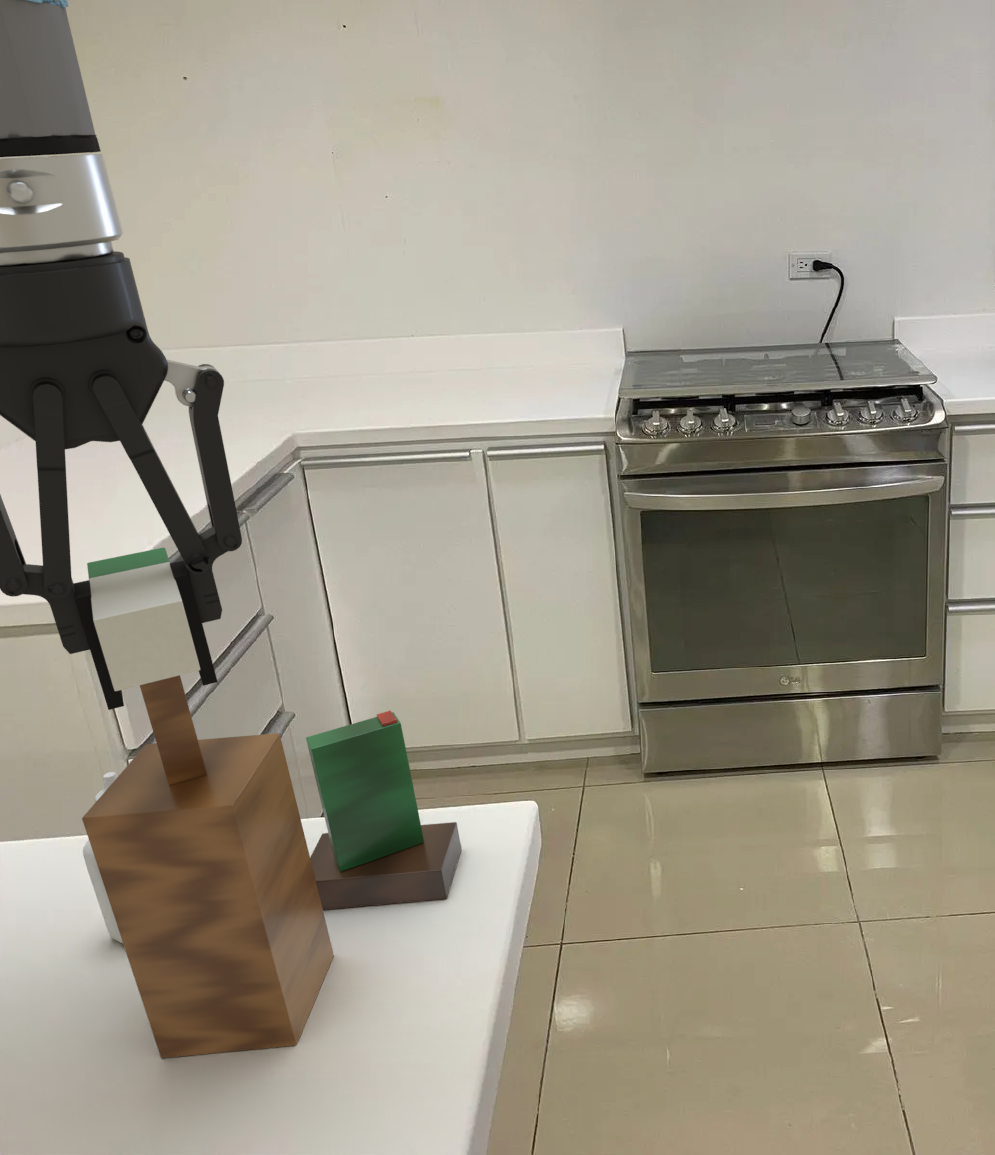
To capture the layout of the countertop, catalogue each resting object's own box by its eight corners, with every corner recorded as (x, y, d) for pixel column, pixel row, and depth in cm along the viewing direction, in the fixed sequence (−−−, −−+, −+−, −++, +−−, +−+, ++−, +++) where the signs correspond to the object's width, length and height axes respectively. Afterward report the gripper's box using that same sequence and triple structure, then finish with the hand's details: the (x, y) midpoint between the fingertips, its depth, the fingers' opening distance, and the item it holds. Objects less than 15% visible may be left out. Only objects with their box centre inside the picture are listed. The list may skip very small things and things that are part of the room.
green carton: (340, 872, 79) (310, 746, 76) (334, 858, 81) (304, 734, 77) (424, 842, 82) (400, 719, 78) (417, 829, 84) (392, 708, 80)
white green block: (200, 670, 59) (182, 600, 57) (114, 691, 57) (93, 620, 56) (181, 609, 67) (164, 546, 65) (105, 626, 65) (86, 562, 64)
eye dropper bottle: (110, 918, 80) (61, 773, 76) (196, 890, 83) (154, 748, 78) (111, 953, 77) (60, 803, 72) (201, 923, 79) (157, 776, 75)
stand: (160, 1058, 67) (37, 686, 58) (212, 966, 75) (110, 623, 65) (296, 1045, 68) (196, 674, 58) (334, 955, 75) (250, 613, 66)
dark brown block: (304, 911, 80) (296, 882, 79) (328, 860, 85) (321, 833, 84) (446, 899, 80) (441, 870, 79) (461, 849, 86) (456, 821, 85)
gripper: (-196, 279, 47) (-21, 762, 56) (240, 241, 55) (333, 669, 64) (-169, 266, 53) (-15, 704, 62) (220, 233, 61) (308, 625, 70)
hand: (161, 685), depth 63 cm, fingers closed on white green block, 4 cm apart
